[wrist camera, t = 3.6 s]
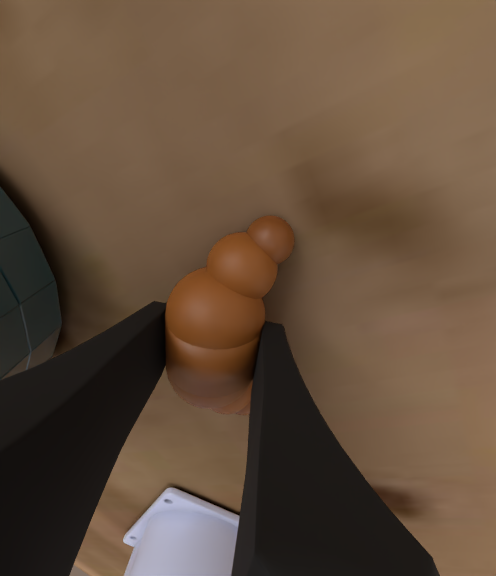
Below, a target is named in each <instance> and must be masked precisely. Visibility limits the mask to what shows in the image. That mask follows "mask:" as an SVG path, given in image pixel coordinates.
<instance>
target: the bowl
mask: <svg viewBox="0 0 496 576" xmlns="http://www.w3.org/2000/svg"><path fill="white" fill-rule="evenodd" d="M61 326H62V318H61V311H60V304H59V297H58V290H57V283H56V280H55V277H54V275H53V273H52V271H51V268H50V266H49V264H48V262H47V260H46V257H45V255H44V253H43V250H42V248H41V246H40V244H39V242H38V240H37V239H36V236H35V234H34V232H33V230H32V228H31V227H30V224H29V223H28V221H27V220H26V219H25V218H24V216H23V215H22V214H21V212H20V211H19V210H18V208H17V207H16V205H15V204H14V203H13V201H12V200H11V199H10V198H9V196H8V195H7V194H6V193H5V191H4V190H3V189H2V188H1V187H0V380H2V379H4V378H7V377H10V376H12V375H15V374H17V373H20V372H22V371H25V370H28V369H30V368H32V367H35V366H37V365H39V364H41V363H44V362H46V361H48V360H49V359H50V358H51V357H52V356H53V353H54V350H55V346H56V343H57V340H58V336H59V333H60V329H61Z"/></svg>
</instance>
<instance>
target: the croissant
mask: <svg viewBox="0 0 496 576" xmlns="http://www.w3.org/2000/svg"><path fill="white" fill-rule="evenodd" d="M293 247H294V233H293V231H292V228H291V227H290V225H289V224H288V223H287V222H286V221H285V220H283V219H282V218H279V217H277V216H264V217H261V218H258V219H257V220H255V221H254V222H253V223H252V224H251V225H250V227H249V228H248V230H247V232H246V233H245V232H238V233H233V234H229V235H227V236H225V237H223V238H222V239H220V240H219V241H218V242H217V243H216V244H215V245H214V246H213V248H212V249H211V251H210V253H209V256H208V259H207V265H206V267H204V268H200V269H198V270H196V271H193V272H191V273H189V274H188V275H186V276H185V277H184V278H183V279H182V280H181V281H179V283H178V284H177V285H176V286H175V288H174V289H173V290H172V292H171V294H170V296H169V299H168V301H167V304H166V312H165V351H166V370H167V375H168V379H169V381H170V383H171V385H172V387H173V389H174V391H175V392H176V393H177V394H178V395H179V396H180V397H181V398H182V399H183V400H185V401H186V402H187V403H189V404H191V405H193V406H196V407H200V408H207V409H212V410H213V411H215V412H217V413H221V414H232V413H236V414H239V415H247V414H250V401H251V389H252V383H253V377H254V372H255V367H256V361H257V356H258V351H259V345H260V340H261V335H262V329H263V325H264V323H265V308H264V303H263V300H262V297H263V296H264V295H266V294H267V293H268V292H269V290H270V289H271V288H272V286H273V284H274V282H275V280H276V276H277V264H279V263H281V262H283V261H284V260H286V259H287V258H288V257H289V255H290V254H291V252H292V250H293Z"/></svg>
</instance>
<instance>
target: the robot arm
mask: <svg viewBox="0 0 496 576" xmlns="http://www.w3.org/2000/svg"><path fill="white" fill-rule="evenodd" d="M165 312H166V303H161V302H155V301H154V302H152V303H150V304H149V305H147V306H145V307H144V308H142V309H140V310H139V311H137V312H136V313H134V314H132V315H131V316H129V317H128V318H126V319H124V320H123V321H121V322H119V323H118V324H116V325H114V326H113V327H111V328H109V329H108V330H106V331H104V332H103V333H101V334H99V335H97V336H95V337H93V338H92V339H90V340H88V341H86V342H84V343H82V344H81V345H79V346H77V347H75V348H73V349H71V350H69V351H67V352H65V353H63V354H61V355H59V356H57V357H55V358H53V359H50V360H48V361H46V362H44V363H41V364H39V365H37V366H35V367H32V368H30V369H28V370H25V371H22V372H20V373H17V374H15V375H12V376H10V377H7V378H4V379H2V380H0V576H69V575H70V572H71V570H72V567H73V564H74V562H75V559H76V556H77V554H78V551H79V549H80V546H81V544H82V541H83V539H84V536H85V534H86V531H87V529H88V526H89V524H90V521H91V519H92V516H93V514H94V511H95V509H96V507H97V504H98V502H99V500H100V497H101V495H102V492H103V490H104V488H105V485H106V483H107V480H108V478H109V476H110V474H111V471H112V469H113V467H114V465H115V462H116V460H117V458H118V455H119V453H120V451H121V449H122V447H123V445H124V443H125V441H126V439H127V437H128V435H129V433H130V431H131V429H132V428H133V426H134V424H135V422H136V420H137V419H138V417H139V415H140V413H141V411H142V410H143V408H144V406H145V404H146V402H147V401H148V399H149V397H150V395H151V393H152V392H153V390H154V388H155V386H156V384H157V382H158V381H159V379H160V377H161V375H162V373H163V370H164V368H165V365H166V351H165ZM123 542H124V543H126V544H128V545H130V546H133V547H134V549H133V552H132V555H131V557H130V560H129V563H128V565H127V568H126V571H125V574H124V576H440V575H439V573H438V570H437V568H436V566H435V563H434V561H433V558H432V557H431V556H430V554H429V553H428V552H427V551H426V550H425V549H424V548H423V547H422V545H421V544H420V543H419V542H418V541H417V540H416V539H415V538H414V536H413V535H412V534H411V533H410V532H409V531H408V530H407V529H406V527H405V526H404V525H403V524H402V523H401V522H400V521H399V520H398V519H397V517H396V516H395V515H394V514H393V513H392V512H391V511H390V509H389V508H388V507H387V506H386V505H385V503H384V502H383V501H382V500H381V498H380V497H379V496H378V495H377V493H376V492H375V491H374V490H373V488H372V487H371V486H370V485H369V483H368V482H367V481H366V480H365V478H364V477H363V475H362V474H361V473H360V471H359V470H358V469H357V467H356V466H355V464H354V463H353V462H352V460H351V459H350V458H349V456H348V455H347V453H346V452H345V451H344V449H343V448H342V447H341V445H340V444H339V442H338V441H337V439H336V438H335V436H334V434H333V433H332V431H331V430H330V428H329V427H328V425H327V423H326V422H325V420H324V419H323V417H322V415H321V414H320V412H319V410H318V408H317V406H316V405H315V403H314V401H313V399H312V397H311V395H310V393H309V391H308V389H307V387H306V385H305V383H304V381H303V379H302V377H301V375H300V372H299V370H298V368H297V365H296V363H295V361H294V358H293V355H292V353H291V350H290V347H289V344H288V341H287V338H286V334H285V330H284V327H283V325H282V324H278V323H272V322H267V321H265V323H264V325H263V329H262V335H261V340H260V345H259V351H258V356H257V361H256V367H255V372H254V377H253V383H252V389H251V401H250V418H249V435H248V453H247V465H246V475H245V482H244V489H243V496H242V503H241V510H240V516H239V515H236V514H234V513H232V512H229V511H227V510H225V509H223V508H220V507H218V506H216V505H213V504H211V503H209V502H206V501H204V500H202V499H199V498H197V497H195V496H193V495H190V494H188V493H186V492H183V491H181V490H179V489H176V488H172V487H170V488H167V489H166V490H165V491H164V492H163V493H162V494H161V495H160V496H159V497H158V499H157V500H156V501H155V502H154V503H153V504H152V505H151V506H150V507H149V509H148V510H147V511H146V512H145V513H144V514H143V515H142V516H141V517H140V519H139V520H138V521H137V522H136V523H135V524H134V525H133V526H132V527H131V529H130V530H129V531H128V532H127V533H126V534H125V536H124V539H123Z"/></svg>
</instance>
